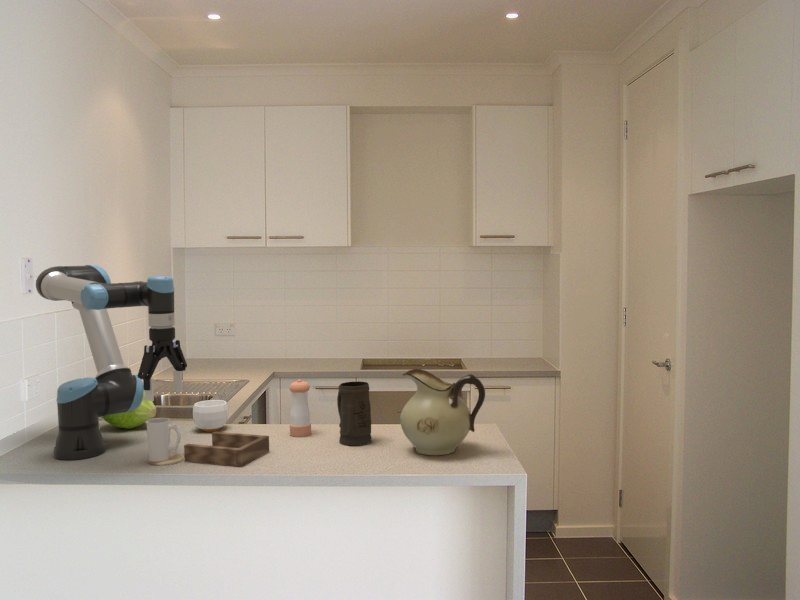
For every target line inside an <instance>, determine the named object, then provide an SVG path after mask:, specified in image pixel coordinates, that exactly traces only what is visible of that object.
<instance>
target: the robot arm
mask: <svg viewBox="0 0 800 600" xmlns="http://www.w3.org/2000/svg"><path fill="white" fill-rule="evenodd" d="M174 286H175V285H174V279H173V277H171V276H169V275H161V276H160V275H158V276H156V275H153V276H149V277H147V280H146V281H142V280H140V281H132V282H131V281H130V282H119V283H112V282H111V278H110V275H109V273H108V272H107V271H106V270H105V269H104V268H103V267H102V266H99V265H90V264H85V265H64V266H63V265H59V266H51V267H48V268H46V269H44V270H43V271H41V273H39V274H38V276H37V277H36V280H35V288H36V291H37V294H39V295H40V296H41V297H42V298H43V299H45V300H50V301H52V302H53V301H54V302H55V301H68V302H71V305H72V308H74V309H75V310H78V312H79V315H80V318H81V321H82V325H83V328H84V333H85V335H86V338H87V342H88V344H89V345H88V346H89V348H90V351H91V355H92V359H93V361H94V365H95V369H96V372H97V374H96V375H95V377H83V378H76V379H72V380H69V381H66V382H64V383H62V384H60V385H59V386H58V388H57V392H56V404H57V419H58V421H57V422H58V424H57V425H58V433H57V437H56V441H55V446H54V447H53V457H54V458H55V459H58V460H64V461H69V460H70V461H72V460H73V461H74V460H82V459H89V458H93V457H97V456H100V455H102V454H104V453H105V452H106V451H107V447H106V445H107V444H106V441H105V440H104V439H103V434H102V432H101V429H100V423H99V421H100V420H99V418H101V417H102V416H107V415H112V414H118V413H126V412H128V411H131V410H135V409H137V408H138V407H139V406H140V404H141V402H142V399H143V395H144V393H145V401H153V402H154V401H155V393H154V392H155V391H154V390H155V389H154V378H153V375H154V373H155V370H156V369H157V367H158V364H159V362H160V361H161V360H162V359H164V358H167V360H168V361H169V363H170V364H171V366H172V367H173V368H174V370H173V371H172V373H173V374H172V375H173V377H172V378H173V379H172V380H173V392H177V393H183V378H184V377H183V371H184V372H185V371H186V369H187V368H188V363H187V360H186V358H185V355H184V352H183V350H182V348H181V341H180V340H179V339H176V327H174V326H175V324H176V323H175V287H174ZM133 307H147V310H148V311H147V312H148V313H147V314H148V316H147V317H148V320H147V321H148V327H150V328H149V329H148V336H149V337H148V338H149V339H148V340H150V341H151V345H144V347H143V355H142V360H141V363H140V367H139V369H138V373H137V374H133V372H132V370H131V368H130V367H128V366H127V365H125V363H124V361H123V358H122V353H121V351H120V347H119V344H118V340H117V338H116V334H115V331H114V328H113V325H112V322H111V318H110V315H109V311H108V309H117V308H118V309H121V308H133ZM102 418H103V417H102Z"/></svg>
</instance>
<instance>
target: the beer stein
mask: <svg viewBox="0 0 800 600" xmlns="http://www.w3.org/2000/svg"><path fill="white" fill-rule="evenodd" d="M336 399H337V400H336V403H337V404H336V405H337V410H338V416H339V419H340V421H339V426H338V427H339V441H338V442H339V443H340V445H342V446H350V447H357V446H358V447H359V446H361V447H362V446H365V445H369V444H370V443H371V442H372V441H373V439H372V416H371V415H372V414H371V412H372V411H371V410H372V409H371V401H370V384H369V382H367V381H360V380H359V381H347V382H346V381H345V382H342V383H340V384H339V385H338V393H337V398H336Z"/></svg>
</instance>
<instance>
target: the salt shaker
mask: <svg viewBox="0 0 800 600" xmlns="http://www.w3.org/2000/svg"><path fill="white" fill-rule="evenodd" d="M310 389H311V386H310V385H309V382H307V381H302V379H296V381H294V382H291V383H290V384H289V387H288V390H289V391H290V392H291V409H290V424H289V435H290V436H291V437H295V438H296V437H298V438H301V437H302V438H303V437H308V436H310V435H312V424H311V413H310V407H309V397H308V396H309V395H308V394H309V393H308V392H309V390H310Z"/></svg>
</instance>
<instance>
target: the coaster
mask: <svg viewBox="0 0 800 600" xmlns="http://www.w3.org/2000/svg"><path fill="white" fill-rule="evenodd" d="M184 460H185V458H184V454H179V453H170V459H168V460H166V461H161V462H152V461H149V460H148V464H149V465H152V466H170V464H171V465H175V463H176V464H178V462H179V463H181V462H182V461H184Z"/></svg>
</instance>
